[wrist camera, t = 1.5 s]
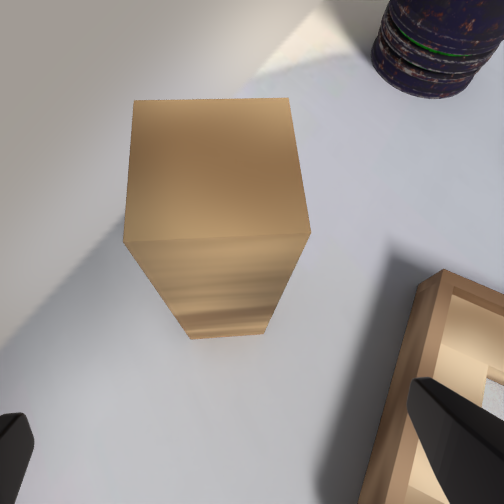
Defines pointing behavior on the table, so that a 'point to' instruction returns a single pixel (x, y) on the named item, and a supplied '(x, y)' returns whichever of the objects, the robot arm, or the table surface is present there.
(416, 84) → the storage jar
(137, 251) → the peg
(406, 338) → the socket box
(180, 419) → the table surface
